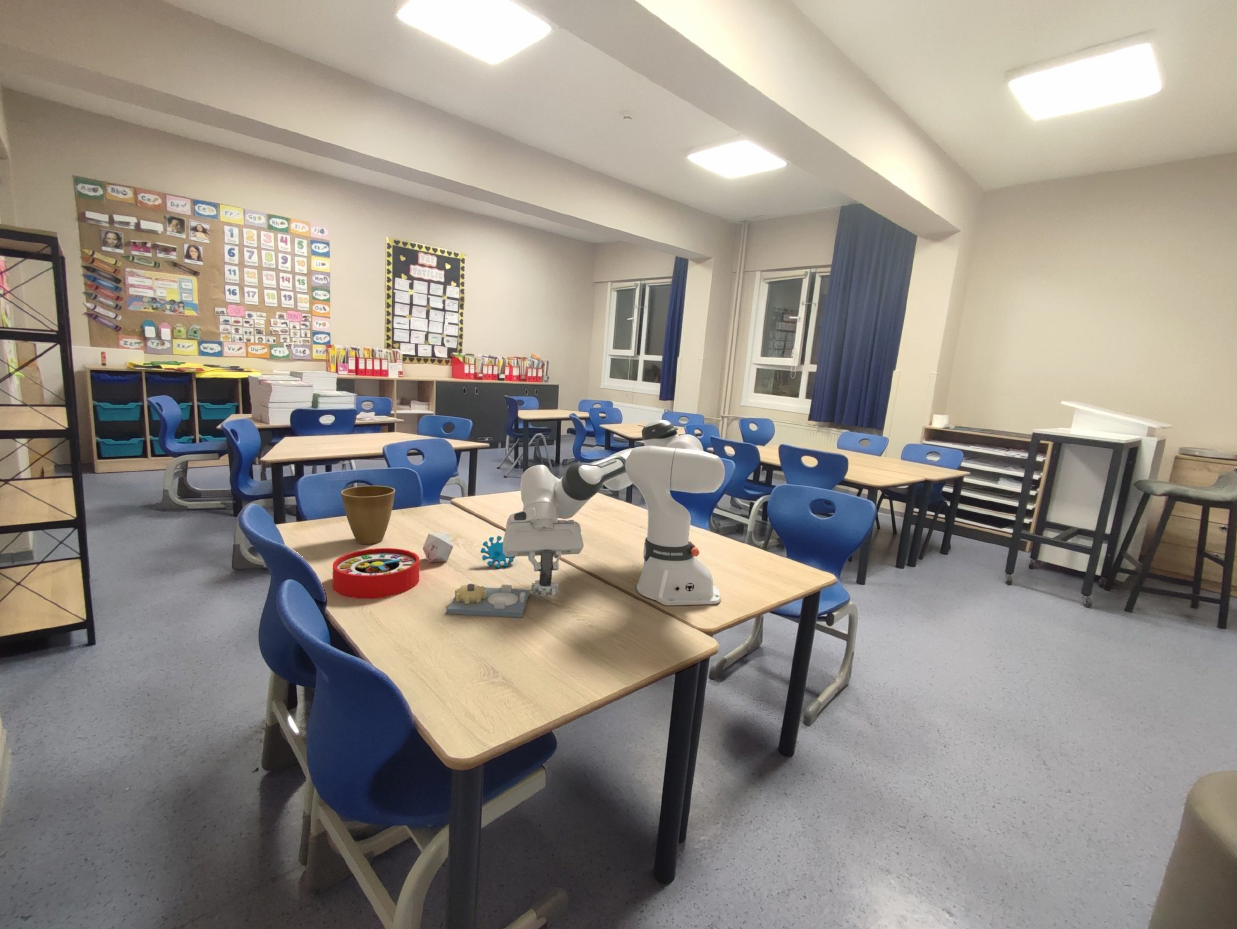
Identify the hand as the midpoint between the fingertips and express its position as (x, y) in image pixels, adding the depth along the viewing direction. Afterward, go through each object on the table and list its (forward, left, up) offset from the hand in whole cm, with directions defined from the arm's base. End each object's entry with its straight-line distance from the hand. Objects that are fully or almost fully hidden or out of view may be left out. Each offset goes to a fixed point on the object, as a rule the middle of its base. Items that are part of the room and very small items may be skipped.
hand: (546, 570), depth 130 cm
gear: (0, -1, -6) cm, 6 cm away
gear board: (+13, +3, -8) cm, 15 cm away
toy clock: (+43, -6, -8) cm, 44 cm away
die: (+33, -23, -8) cm, 41 cm away
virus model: (+15, -23, -8) cm, 29 cm away
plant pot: (+58, -36, -8) cm, 69 cm away
